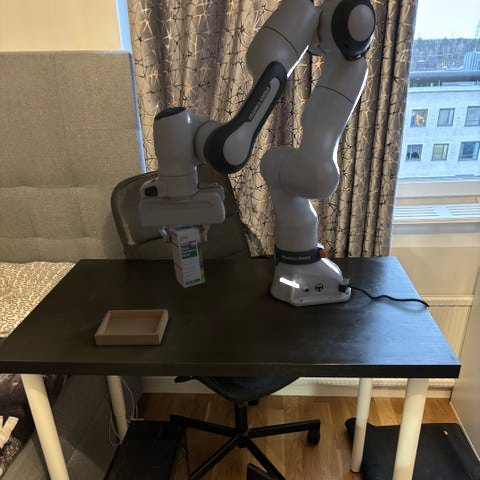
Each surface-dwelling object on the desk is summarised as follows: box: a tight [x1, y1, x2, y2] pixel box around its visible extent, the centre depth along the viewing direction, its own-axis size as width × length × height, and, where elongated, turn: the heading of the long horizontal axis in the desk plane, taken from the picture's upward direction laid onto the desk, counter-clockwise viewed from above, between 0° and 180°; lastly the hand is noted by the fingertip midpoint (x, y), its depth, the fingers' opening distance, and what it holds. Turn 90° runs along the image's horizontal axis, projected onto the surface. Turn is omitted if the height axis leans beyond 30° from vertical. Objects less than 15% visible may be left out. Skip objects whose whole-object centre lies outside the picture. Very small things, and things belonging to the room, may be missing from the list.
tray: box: [94, 309, 169, 346], centre depth 125 cm, size 16×13×3 cm
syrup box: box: [168, 225, 206, 289], centre depth 122 cm, size 6×6×14 cm
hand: (185, 241), depth 121 cm, fingers closed on syrup box, 7 cm apart
